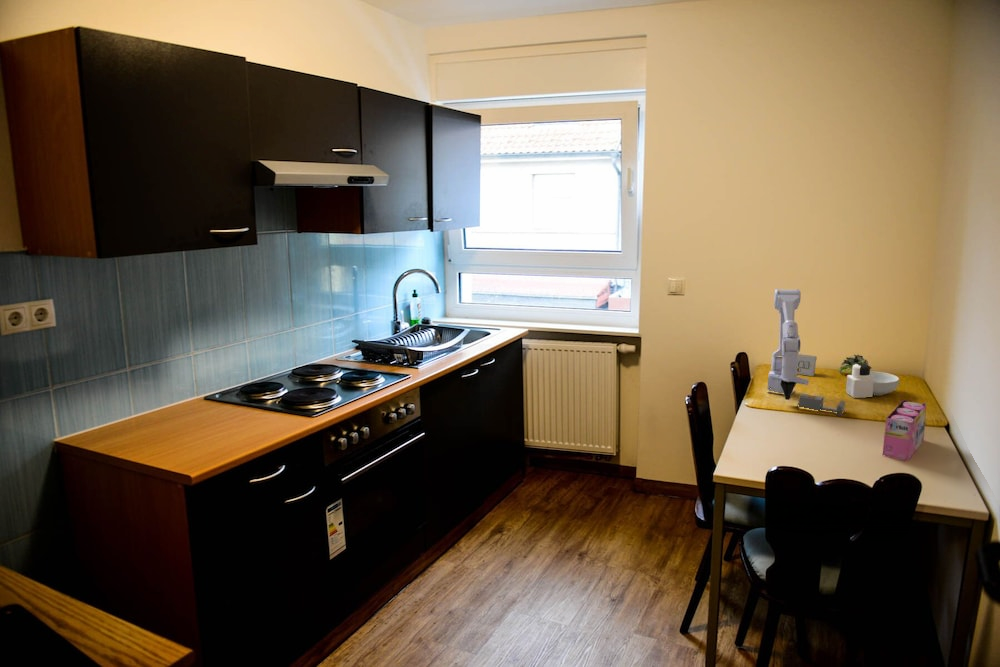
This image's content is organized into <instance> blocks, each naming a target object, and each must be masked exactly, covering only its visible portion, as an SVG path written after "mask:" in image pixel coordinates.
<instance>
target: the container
mask: <svg viewBox="0 0 1000 667" xmlns="http://www.w3.org/2000/svg"><path fill="white" fill-rule="evenodd" d="M870 367H871V366H870V365H865V364H855V365H853V368H852V374H847V375H846V387H845V388H846V389H845V392H846V394H848V395H849V396H850V397H852V398H853V399H859V398H860V399H864V398H865V399H867V398H866V397H872V398H873V396H874V395H873V383H874V380H873V379H871V378H870V377H869V376H870V371H871V369H870Z"/></svg>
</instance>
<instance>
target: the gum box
mask: <svg viewBox="0 0 1000 667" xmlns="http://www.w3.org/2000/svg"><path fill="white" fill-rule="evenodd" d="M927 406H928V405H927V403H925V402H923V403H921V404H920V403H917V402H914V401H913V402H910V401H908V399H903V400H902V401H900V402H899V403H898V405H897V406H896V407H895V408H894V409H893V411H891V412H890V414H888V415H887V417H886V419H885V420H886V421H885V427H884V428H885V429H884V438H883V445H882V447H883V448H882V453H881V454H882V456H883V455H885V456H884V457H887V456H889V457H888V458H891V459H892V458H893V459H896V460H897V459H898V460H902V461H906V462H908V461H909V460H910V458H911V457H912V456H913V454H915V452H916V450H918V448H919V446H920V445H921V444H922V443H923V442H924V439H925V438H924V437H925V428H926V416H927V415H926V414H927Z"/></svg>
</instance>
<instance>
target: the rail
mask: <svg viewBox="0 0 1000 667" xmlns="http://www.w3.org/2000/svg"><path fill="white" fill-rule="evenodd" d="M797 405H799V402H798V403H797ZM845 406H846V401H844V400H840V402H839V403H838V404H837V405H836V407H831V406H825V405H823V406H821V410H826V411H832V412H837V414H836V413H835V415H836V416H837V417H841V416H842V415H843V414H842V412H843V411H844V412H845V410H844V409H845V408H846V407H845ZM844 412H843V413H844ZM841 414H842V415H841Z"/></svg>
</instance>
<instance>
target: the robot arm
mask: <svg viewBox="0 0 1000 667" xmlns="http://www.w3.org/2000/svg"><path fill="white" fill-rule="evenodd" d="M801 295H802V294H801V290H800V289H799V288H798V289H786V288H785V289H780V288H779V289H778V288H776V289H775V290H774V294H773V300H774V301H773V307H774V309H775V310H777V311H778V315H779V329H778V330H779V331H778V332H779V335H778V336H779V337H778V340H779V343H778V349H777V350H776V351H774V352H772V354H771V363H770V364H771V367H770V368H771V370H770V371H769V372H768V376H767V389H766V390H769V391H774V392H778V393H784V395H783V396H784V399H785V400H787V401H789V400H790V399H791V396H792V394H794V392H795V387H796V385H797V384H798V385H799V384H800V385H804V386H808V385H809V382H810V381H809V378H808V379H807V378H803V377H799V376H798V374H797V365H798V354H799V353H800V351H801V338H800V335H799V326H798V323H797V322H796V321H795V310H798V308H799V305H800V303H801V298H802V297H801ZM770 388H771V389H770Z"/></svg>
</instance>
